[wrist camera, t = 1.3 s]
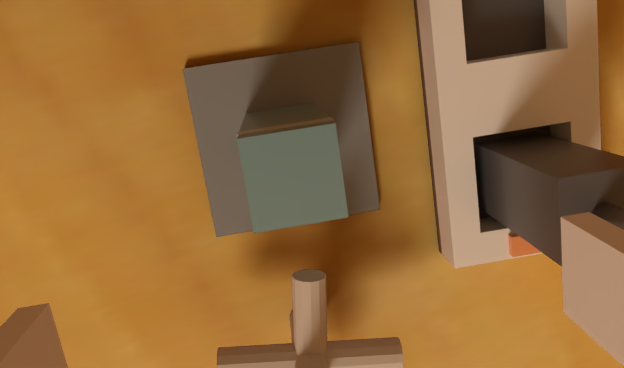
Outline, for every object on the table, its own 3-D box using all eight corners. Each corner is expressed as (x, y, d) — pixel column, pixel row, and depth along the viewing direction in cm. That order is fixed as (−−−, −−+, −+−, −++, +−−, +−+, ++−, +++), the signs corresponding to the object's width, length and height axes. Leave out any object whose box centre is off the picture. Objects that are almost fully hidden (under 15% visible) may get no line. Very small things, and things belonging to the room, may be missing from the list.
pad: (184, 68, 32) (182, 68, 31) (357, 41, 32) (358, 41, 32) (217, 234, 34) (216, 237, 33) (378, 207, 34) (379, 209, 34)
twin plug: (472, 142, 33) (598, 196, 21) (537, 132, 34) (701, 178, 21) (477, 206, 34) (601, 294, 22) (540, 195, 34) (699, 276, 22)
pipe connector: (381, 240, 35) (426, 311, 25) (380, 382, 37) (421, 498, 27) (220, 247, 34) (202, 323, 24) (229, 392, 36) (215, 514, 27)
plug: (244, 112, 32) (235, 138, 22) (315, 101, 32) (336, 121, 22) (256, 181, 33) (253, 234, 23) (325, 170, 33) (349, 218, 23)
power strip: (406, -69, 31) (424, -85, 28) (563, -92, 31) (599, -110, 28) (439, 250, 35) (457, 271, 32) (576, 227, 36) (608, 245, 32)
